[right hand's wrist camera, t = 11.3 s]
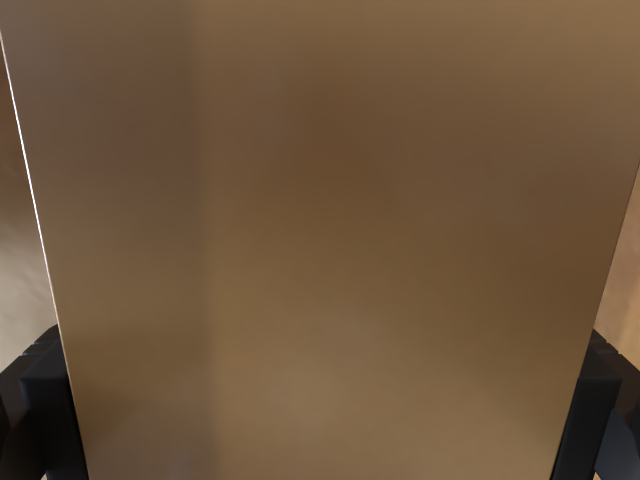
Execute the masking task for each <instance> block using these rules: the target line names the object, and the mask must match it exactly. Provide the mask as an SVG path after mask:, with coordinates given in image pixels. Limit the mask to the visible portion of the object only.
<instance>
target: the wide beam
mask: <svg viewBox="0 0 640 480" xmlns="http://www.w3.org/2000/svg"><path fill="white" fill-rule="evenodd" d="M0 40H1V45H2V50H3V55H4V60H5V65H6V70H7V75H8V80H9V84H10V89H11V94H12V99H13V104H14V109H15V114H16V119H17V124H18V129H19V134H20V139H21V144H22V149H23V154H24V159H25V163H26V168H27V173H28V178H29V183H30V188H31V193H32V198H33V203H34V208H35V213H36V218H37V223H38V228H39V233H40V238H41V243H42V247H43V252H44V257H45V262H46V267H47V272H48V277H49V282H50V287H51V292H52V297H53V302H54V307H55V312H56V317H57V322H58V327H59V331H60V336H61V341H62V346H63V351H64V356H65V361H66V366H67V371H68V376H69V381H70V386H71V391H72V396H73V401H74V406H75V411H76V415H77V420H78V425H79V430H80V435H81V440H82V445H83V450H84V455H85V460H86V465H87V470H88V475H89V480H550V477H551V473H552V470H553V466H554V463H555V459H556V456H557V452H558V449H559V445H560V442H561V438H562V435H563V431H564V428H565V424H566V421H567V417H568V414H569V410H570V406H571V402H572V399H573V395H574V391H575V387H576V383H577V379H578V378H579V375H580V372H581V368H582V364H583V361H584V357H585V354H586V350H587V347H588V343H589V340H590V336H591V333H592V329H593V326H594V322H595V319H596V315H597V312H598V308H599V305H600V301H601V298H602V294H603V291H604V287H605V284H606V280H607V277H608V273H609V270H610V266H611V263H612V259H613V256H614V252H615V249H616V245H617V242H618V238H619V235H620V231H621V228H622V224H623V221H624V217H625V214H626V210H627V207H628V203H629V200H630V196H631V193H632V189H633V186H634V182H635V179H636V175H637V172H638V168H639V165H640V0H0Z"/></svg>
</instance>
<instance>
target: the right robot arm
mask: <svg viewBox="0 0 640 480" xmlns="http://www.w3.org/2000/svg"><path fill="white" fill-rule="evenodd" d="M595 472H596V473H597V474H598V476H599V477H600V479H601V480H640V371H639V370H638V369H637V368H636V367H635V366H634V365H632V364H631V363H630V362H629V361H628V360H627V359H626V358H625V357H624V356H623V355H622V354H618V351H617V350H616V349H615V348H614V347H613V346H612V345H611V344H610V343H607V342H606V340H605V339H604V338H603V337H602V336H601V335H600V334H599V333H598V332H597V331H596V330H594V329H592V333H591V336H590V340H589V343H588V347H587V350H586V354H585V357H584V361H583V364H582V368H581V372H580V375H579V378H578V379H577V383H576V387H575V391H574V395H573V399H572V402H571V406H570V410H569V414H568V417H567V421H566V424H565V428H564V431H563V435H562V438H561V442H560V445H559V449H558V452H557V456H556V459H555V463H554V466H553V470H552V473H551V477H550V480H593V478H594V475H595ZM45 473H46V477H47V480H89V475H88V470H87V465H86V460H85V455H84V450H83V445H82V440H81V435H80V430H79V425H78V420H77V415H76V411H75V406H74V401H73V396H72V391H71V386H70V381H69V376H68V371H67V366H66V361H65V356H64V351H63V346H62V341H61V336H60V331H59V327H58V324H56V325H55V326H53V327H51V328H49V329H48V330H47V331H46V332H45V333H44V334H42V335H41V336H40V337H39V338H38V339H37V340H36V341H35V342H34V345H31V346H30V347H28V348H27V349H26V350H25V351H24V352H23V355H22V356H19V357H18V358H17V359H15V360H14V361H13V362H12V363H11V364H10V365H9V366H8V367H7V368H6V369H5V370H4V371H3V372H1V373H0V480H41V479H42V477H43V476H44V474H45Z"/></svg>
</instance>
